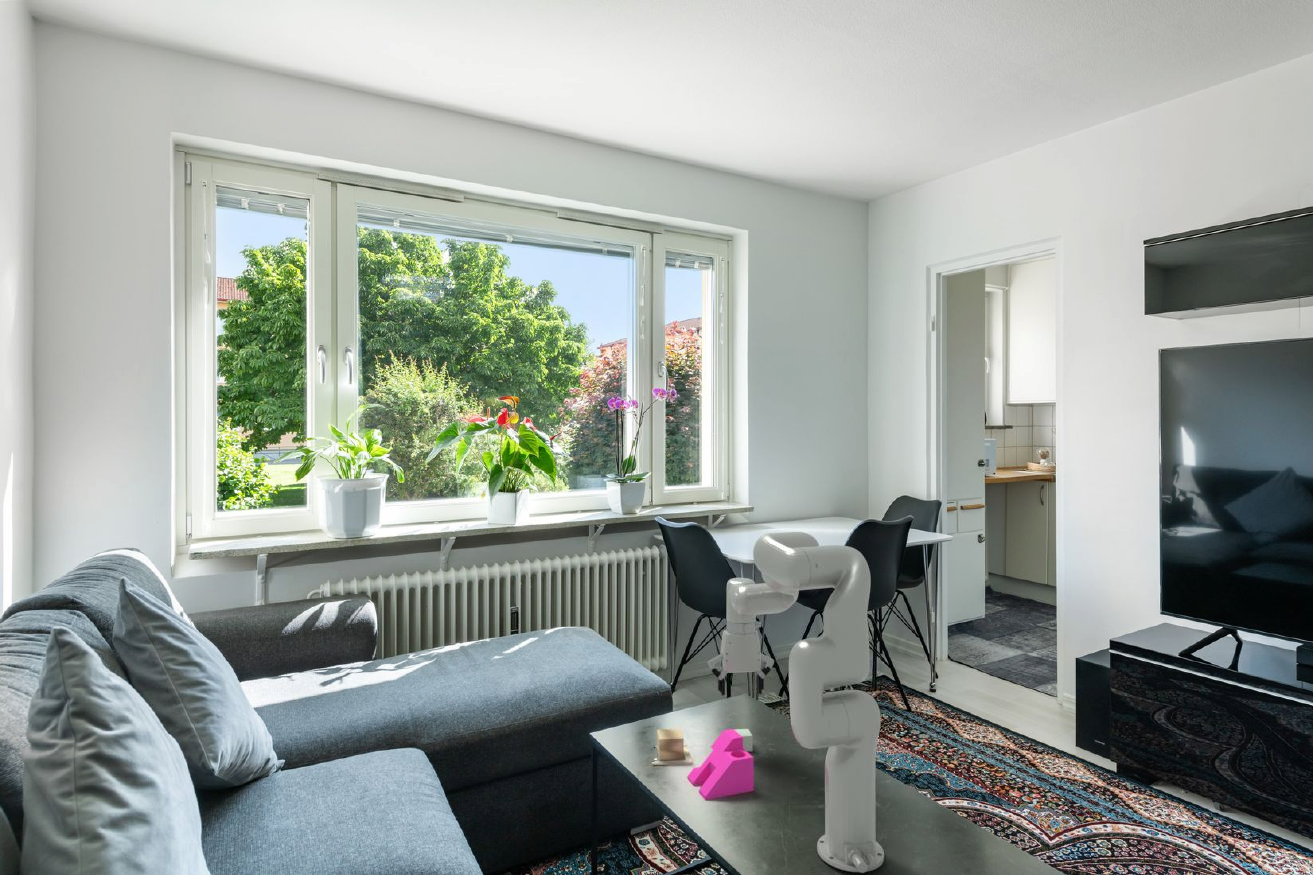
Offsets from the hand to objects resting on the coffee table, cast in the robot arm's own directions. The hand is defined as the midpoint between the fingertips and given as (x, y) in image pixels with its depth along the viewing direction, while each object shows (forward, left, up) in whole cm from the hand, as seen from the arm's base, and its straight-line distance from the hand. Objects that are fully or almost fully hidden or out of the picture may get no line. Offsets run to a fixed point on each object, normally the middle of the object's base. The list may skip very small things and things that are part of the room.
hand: (740, 692), depth 185 cm
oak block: (-3, +19, -13) cm, 23 cm away
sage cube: (0, 0, -15) cm, 15 cm away
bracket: (-18, +9, -15) cm, 25 cm away
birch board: (-3, +19, -14) cm, 24 cm away
